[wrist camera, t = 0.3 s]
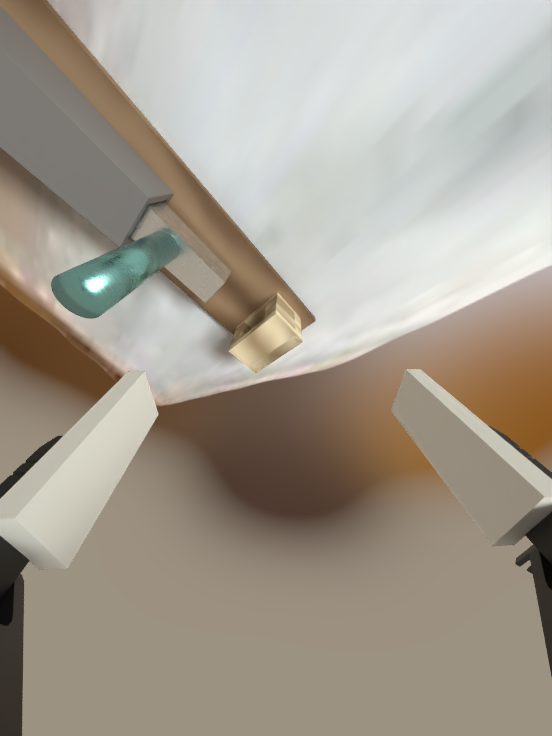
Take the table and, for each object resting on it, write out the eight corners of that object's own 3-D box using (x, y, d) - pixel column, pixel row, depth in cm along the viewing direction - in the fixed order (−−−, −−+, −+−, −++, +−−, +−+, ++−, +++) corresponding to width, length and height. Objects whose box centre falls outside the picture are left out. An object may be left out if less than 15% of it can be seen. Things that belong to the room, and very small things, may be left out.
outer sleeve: (3, 8, 18) (-98, -50, 14) (174, 193, 26) (148, 197, 21) (-10, 90, 21) (-97, 65, 17) (147, 235, 29) (119, 247, 24)
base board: (-7, -63, 17) (-24, -76, 16) (314, 317, 37) (315, 320, 36) (-28, 99, 23) (-41, 96, 22) (262, 354, 42) (261, 358, 41)
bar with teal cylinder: (16, 49, 19) (-613, -238, 6) (231, 271, 30) (187, 348, 17) (6, 98, 21) (-487, -34, 8) (212, 290, 32) (160, 373, 19)
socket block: (277, 292, 33) (275, 313, 28) (300, 317, 36) (302, 342, 31) (236, 326, 37) (228, 351, 32) (259, 347, 40) (255, 373, 35)
